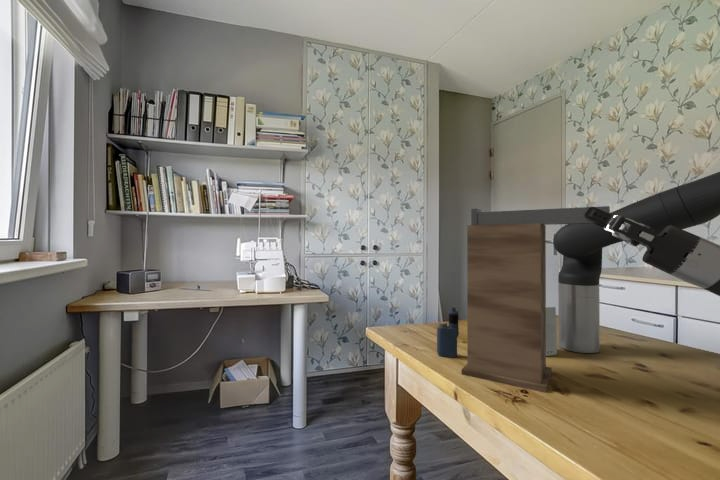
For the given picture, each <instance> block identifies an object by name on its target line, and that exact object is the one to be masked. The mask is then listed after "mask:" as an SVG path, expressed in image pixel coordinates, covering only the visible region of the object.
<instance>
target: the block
mask: <svg viewBox="0 0 720 480" xmlns="http://www.w3.org/2000/svg"><path fill="white" fill-rule="evenodd" d="M590 207H591V206H583V207H562V208H544V209H543V208H542V209H541V208H540V209H539V208H537V209H523V210H522V209H521V210H520V209H519V210H500V211H499V210H498V211H482V209H479V208H471V209H470V212H471V213H470V214H471V215H470V216H471V218H470V219H471V220H470V221H471V224H470V225H499V224H537V223H540V224H543V225H547V226H548V225H549V226H551V225H567V224H596V223H597V222H594V221H592V220H590V219H588V218H586V217H585V213H586V212H587V210H588V209H589V208H590ZM594 207H595V208H598V209H600V210H602V211H604V212H607V213H609V214H610V213H611V212H610V208H611V207H610V206H609V205H607V206H606V205H605V206H604V205H603V206H594Z"/></svg>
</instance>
